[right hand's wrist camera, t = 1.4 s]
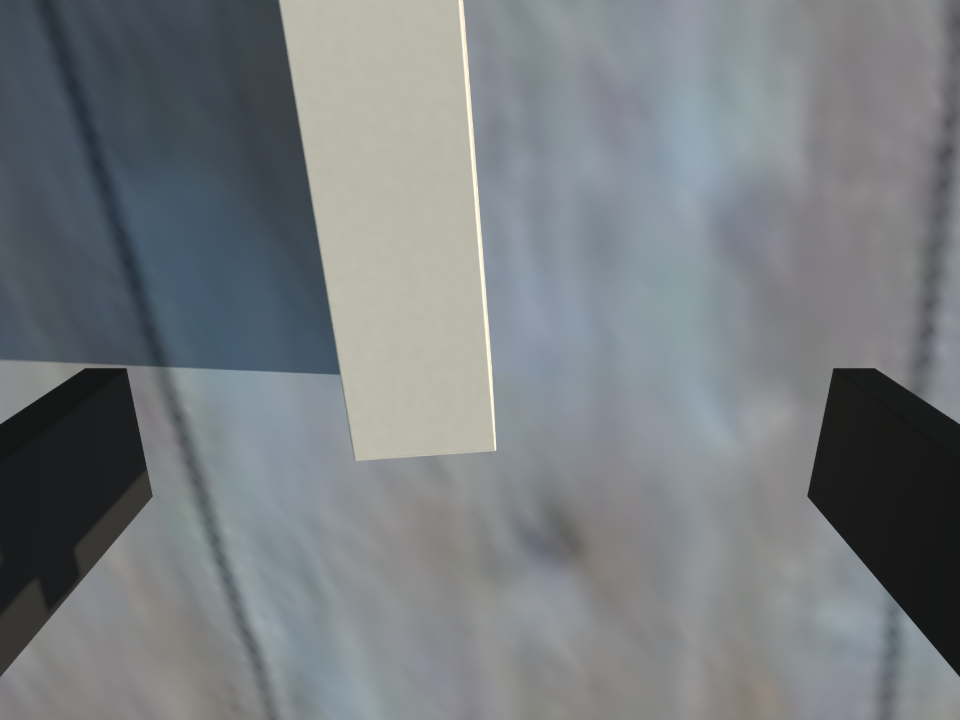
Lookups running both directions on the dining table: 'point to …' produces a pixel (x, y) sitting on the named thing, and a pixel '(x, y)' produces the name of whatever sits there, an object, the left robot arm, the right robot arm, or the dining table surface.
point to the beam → (396, 218)
